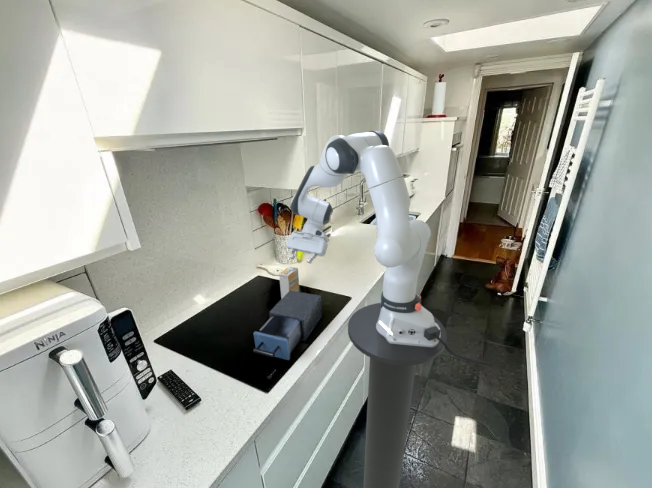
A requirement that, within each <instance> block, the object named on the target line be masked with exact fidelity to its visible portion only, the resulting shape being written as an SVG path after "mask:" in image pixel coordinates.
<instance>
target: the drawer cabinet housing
mask: <svg viewBox="0 0 652 488" xmlns="http://www.w3.org/2000/svg"><path fill="white" fill-rule="evenodd" d="M268 314H269V319H270V318H271V317H272V316H273V315H277V316H282V317H286V318H291V319H296V320H301V321H302V333H303V337H302V338H301V340H300V341H301V342H306V341H307V340H308V338H309V336H310V335H311V333H312V332H313V330H314V329H315V328H316V326H317V324H318V323H319V321H320V320H321V319H322V317H323V307H322V295H318V294H312V293H307V292H302V291H299V292H296V291H289V292H288V293H287V294H286V295H285V296H284V297H283V298H282V299H280V300H279V301H278V302H277V303H276V304H275V305H274V307H273V308H271V310H269V312H268Z"/></svg>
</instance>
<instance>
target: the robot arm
mask: <svg viewBox="0 0 652 488" xmlns="http://www.w3.org/2000/svg"><path fill="white" fill-rule="evenodd" d="M356 171H358V172H360V173H361V174H363V177H364V179H365V183H366V186H367V190H368V192H369V195H370V199H371V202H372V206H373V209H374V215H375V221H376V222H375V223H376V240H375V243H374V246H373V254H374V257H375V260H376V261H377V262H378V263H379V264H380V265H381V266H383V267H385V270H384V273H383V283H382V291H381V293H380V301H379V303H380V304H381V311H380V315H379V319H378V321H377V323H376V329H377V331H378V332H379V333H380V334H381V335H382V336H384V337H385V338H386V339H387V341H388V342H389V343H391V344H400V345H411V346H422V347H435V346H436V345H437V344H438V343H439V341H440V342H441V343H442V344H443V345H444V347H445V348H444V349H445V350H446V351H447V352H448V353H449V354H450V355H452V356H454V357H456V358H458V359H461V360H463V361H467V362H469V363H473V364H478V365H484V366H488V367H491V366H492V362H488V361H481V360H477V359H473V358H469V357H467V356H463V355H460V354H458V353H456V352H454V351H453V350H451V349H450V348H449V346H448V345H447V342H446V343H445V342H444V341H443V340H442V339H441V338H440V337H441V330H440V328H439V326H438V324H437V323H435V321H434V317H435V316H434V315H433V313H431V311H430V310H428V309H427V308H426V307H424V306H423V305H422V296H421V295H419V296H418V295H417V287H418V279H419V275H420V271H421V268H422V265H423V261H424V259H425V254H426V251H427V248H428V244H429V242H430V240H431V237H432V231H431V228H430V226H429V225H428V223H427V222H425V221H424V220H421V219H410V207H411V197H410V194H409V191H408V187H407V183H406V180H405V177H404V173H403V170H402V167H401V165H400V161H398V158H397V156H396V154H395V152H394V150H393V149H392V148H391V146H390V143H389V139H388V137H387V135H386V134H385V133H384V132H383V131H380V130H369V131H366V132H365V131H364V132H358V133H356V132H355V133H351V134H348V135H343V134H335V135H332V136H331V137H329V139H328V140H327V142H326V144H325V145H324V148H323V149H322V152H321V154H320V159H319V162H318V163H317V164H316V165H311V166H310V167H309V168H308V169H307V171H306V173H305V175H304V176H303V178H302V180H301V182H300V184H299V187H298V188H297V191H296V192H295V194H294V195H293V196H292V198H291V200H290V204H289V208H290V210H291V212H292V214H293V215H296V216H299V217H303V218H305V219H307V220H306V221H305V222H304V225H303V227H302V230H301V231H298V230H294V231H292V232H291V233H290V235H289V237H288V239H287V240H286V243H285V247H286V248H287V249H288V250H289V251H290V252H289V253H290V256H289V259H291V260H295V259H296V255H295V253H296V252H298V253H304V254H308V255H311V256H310V257H308V258H307V260H306V263H308V264H312V263H313V261H314V260H315V259H316V258H317V256H318V257H324V256H325V255H326V254H327V251H328V247H329V242H330V238H329V237H328V235H327V234H326V233H325V232H324V231H323V230H324V226H326V225H327V224H329V223H330V219H331V217H332V215H333V213H334V208H333V206H332V204H331V203H329V202H328V201H326V200H324V199H320V198H317V197H316V196H312V195H310V194H309V193H308V191H309V190H310V188H311V187H323V188H334V187H337V186H339V185H341V184H342V183H343V182H344V181H345V178H346V177H347V175H348V174H349V175H353V174H355V172H356ZM433 316H434V317H433Z"/></svg>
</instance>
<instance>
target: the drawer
mask: <svg viewBox="0 0 652 488" xmlns="http://www.w3.org/2000/svg"><path fill="white" fill-rule="evenodd" d="M302 337H303V333H302V321H301V320H296V319H291V318H286V317H282V316H277V315H273V316H272V317H271V318H270V317H269V318H268V320H267V321H266V322H265V323H264V324H263V325H262V326H261V327H260V329H259V331H254V332H253V340H254V345H255V347H254V348H253V350H252V352H253V354H257V355H262V356H266V357H269V358H278V359H282V360H286V361H290V359H291V354H292V352H293V351H294V349H296V347H297V345H298V344H299V342H300V341H301V338H302Z"/></svg>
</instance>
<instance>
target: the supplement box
mask: <svg viewBox="0 0 652 488" xmlns="http://www.w3.org/2000/svg"><path fill="white" fill-rule="evenodd" d="M278 276H279V277H278V278H279V287H280V288H279V289H280V297H281V299H282V298H283V297H284V296H285V295H286V294H287V293H288V292H289V291H296V292H300V280H299V279H300V277H299V268H297V267H294V266H288V267H287V268H285V269H284V270H283V271H281V272H279V275H278ZM281 299H280V300H281Z"/></svg>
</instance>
